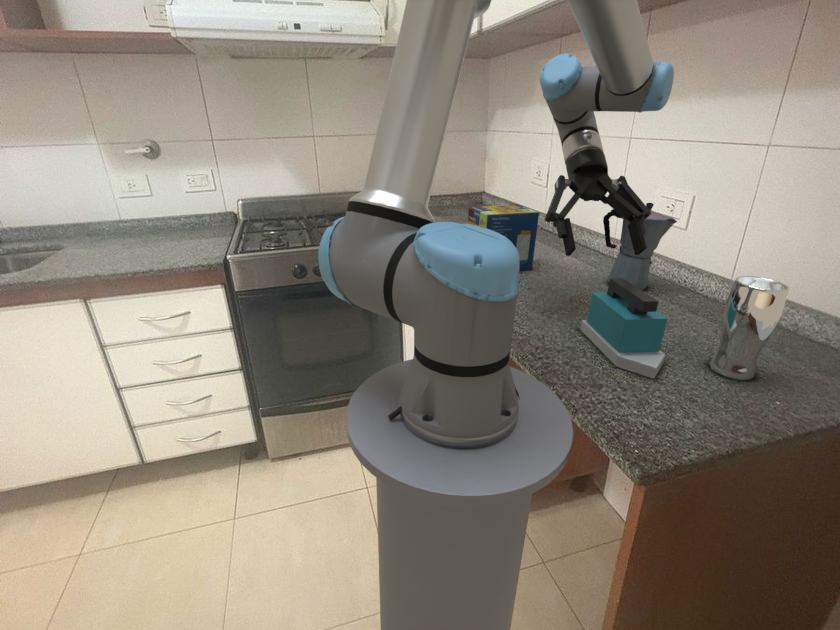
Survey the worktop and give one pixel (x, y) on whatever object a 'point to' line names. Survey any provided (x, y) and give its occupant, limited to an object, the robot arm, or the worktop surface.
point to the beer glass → (747, 325)
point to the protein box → (510, 227)
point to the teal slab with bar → (627, 327)
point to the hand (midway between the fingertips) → (606, 252)
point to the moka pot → (627, 261)
